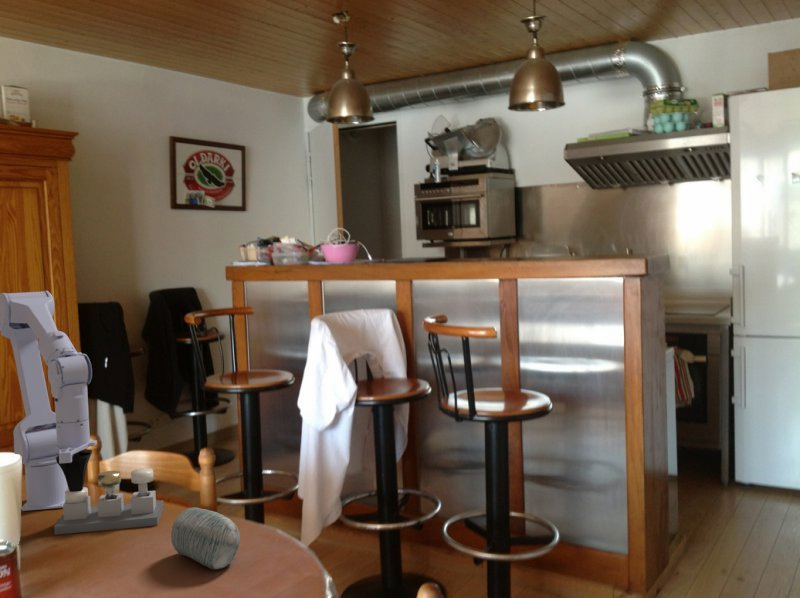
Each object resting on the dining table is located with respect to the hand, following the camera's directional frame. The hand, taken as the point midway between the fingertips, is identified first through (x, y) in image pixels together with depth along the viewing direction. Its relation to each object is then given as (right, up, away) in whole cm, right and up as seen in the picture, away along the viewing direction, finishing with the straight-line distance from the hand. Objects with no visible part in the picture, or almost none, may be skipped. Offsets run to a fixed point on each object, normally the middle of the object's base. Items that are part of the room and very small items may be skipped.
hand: (76, 490), depth 143 cm
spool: (+29, -7, -18) cm, 35 cm away
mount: (+6, -6, +2) cm, 9 cm away
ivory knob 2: (+12, -2, +2) cm, 12 cm away
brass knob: (+6, -2, +1) cm, 6 cm away
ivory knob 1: (0, -5, 0) cm, 5 cm away
